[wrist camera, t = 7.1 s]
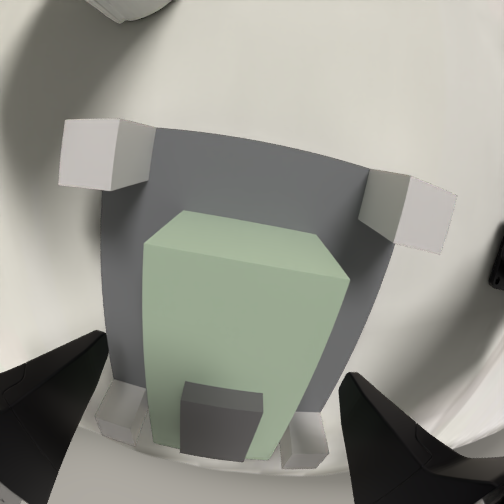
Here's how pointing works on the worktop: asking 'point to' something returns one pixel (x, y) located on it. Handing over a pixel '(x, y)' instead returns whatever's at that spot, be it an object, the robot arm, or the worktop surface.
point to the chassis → (247, 209)
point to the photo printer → (127, 8)
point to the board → (233, 331)
